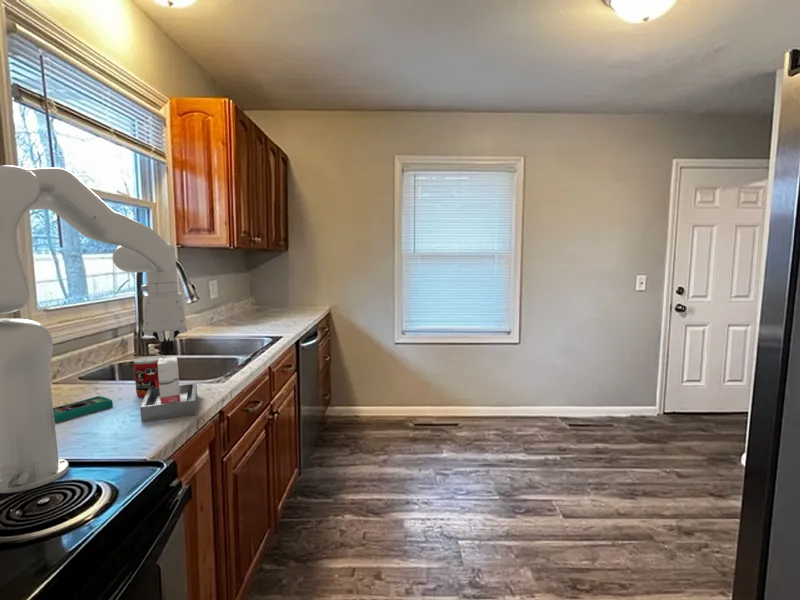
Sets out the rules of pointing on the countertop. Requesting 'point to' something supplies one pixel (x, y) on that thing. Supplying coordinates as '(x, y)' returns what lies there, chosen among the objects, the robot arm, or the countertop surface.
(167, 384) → the ink box
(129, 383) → the countertop surface
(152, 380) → the canned food
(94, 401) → the digital multimeter
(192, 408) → the grey rimmed tray
